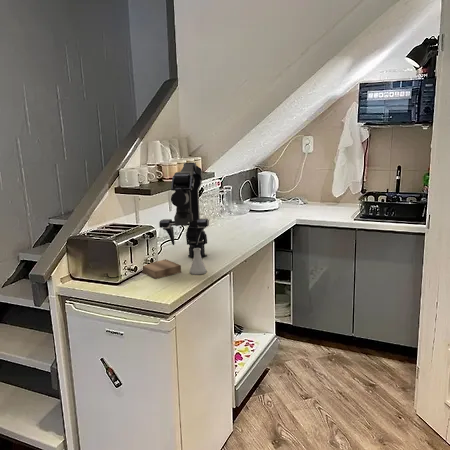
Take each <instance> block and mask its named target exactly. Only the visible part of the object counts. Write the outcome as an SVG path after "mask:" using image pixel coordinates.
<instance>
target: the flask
mask: <svg viewBox="0 0 450 450" xmlns="http://www.w3.org/2000/svg"><path fill="white" fill-rule="evenodd" d="M200 250H201V249H200V248H194V249H193V251H194V258H192V262H191V264H190V265H191V266H190V269H189V273H190V274H191V275H194V276H195V275H204V274H206V273H207V272H208V271H207V269H206V266H205V264H204V261H203V257H202V258H201V254H200Z"/></svg>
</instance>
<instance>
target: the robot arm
mask: <svg viewBox="0 0 450 450" xmlns="http://www.w3.org/2000/svg"><path fill="white" fill-rule="evenodd" d="M203 173H204V172H203V169H202V168H201V167H199V166H198V165H197V164H196V162H193V161H192V162H189V161H188V162H184V163H183V167H182V168H181V170H180V171H177V172H175V173H174V175H173V176H172V178H171V185H170V187H171V188H170V191H171V192H172V191H174V192H173V193H171V194H172V195H171V196H170V200H171V201H170V202H171V203H172V205H173V206H174V207H176V210H175V214H174V217H173V219H172V218H171V219H170V218H168V219H167V218H165V219H160V221H159V223H158V225H159V227H158V228H160V229H161V228H162V230H164V231H166V232H167V234H168V236H169V239H170V241H171V244H172V246H175V232H174V226H176V227H178V226H183V227H186V226H188V227H187V228H186V232H185V239H186V245H188V246H189V247H188V255H187V256H188V257H189V258H192V259H193V258H194V251H193V249H194V248H200V249H201V250H200V254H201V258H202V259H203V258H205V257H207V256H208V254H206V253H205V252H206V249H205V245H206V244H208V236H207V233H206V232H205V230H206V228H208V227H209V226H210V220H209V218H201V217H200V198H199V197H200V195H199V194H200V192H199V190H200V188H201V186H202V184H203V182H202V181H203V180H204V176H203V175H204V174H203ZM204 229H205V230H204Z"/></svg>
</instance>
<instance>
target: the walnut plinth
mask: <svg viewBox="0 0 450 450" xmlns="http://www.w3.org/2000/svg"><path fill="white" fill-rule="evenodd" d="M146 264H147V265H145V266H143V271H142V272H141V273H142V274H145V275H147V276H149V277H150V278H153V279H155V280H158V279H160V278H164V277H168V276H172V275H176V274H180V273H182V265H181V264H178V263H176V262H175V261H174V262H173V261H171V260H168V259H166V258H165V259H162V260H158V261H157V260H156V261H153V262H150V264H148V263H146Z"/></svg>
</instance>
